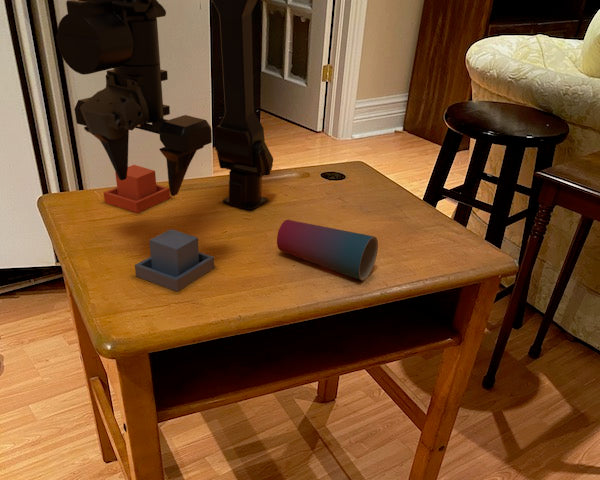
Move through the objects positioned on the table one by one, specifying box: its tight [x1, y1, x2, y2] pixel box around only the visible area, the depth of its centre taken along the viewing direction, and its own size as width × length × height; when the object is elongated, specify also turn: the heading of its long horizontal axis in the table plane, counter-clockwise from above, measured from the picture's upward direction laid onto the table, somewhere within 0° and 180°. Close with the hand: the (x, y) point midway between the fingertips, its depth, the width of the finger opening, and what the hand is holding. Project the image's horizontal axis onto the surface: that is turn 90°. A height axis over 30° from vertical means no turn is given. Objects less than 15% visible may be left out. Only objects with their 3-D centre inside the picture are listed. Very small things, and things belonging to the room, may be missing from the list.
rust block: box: [114, 164, 157, 201], centre depth 107 cm, size 5×5×5 cm
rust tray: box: [103, 183, 171, 214], centre depth 108 cm, size 9×8×2 cm
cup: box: [276, 219, 379, 282], centre depth 92 cm, size 7×7×15 cm
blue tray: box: [134, 251, 215, 293], centre depth 88 cm, size 9×8×2 cm
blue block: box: [148, 228, 200, 277], centre depth 87 cm, size 5×5×5 cm
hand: (148, 187), depth 82 cm, fingers open, 9 cm apart
